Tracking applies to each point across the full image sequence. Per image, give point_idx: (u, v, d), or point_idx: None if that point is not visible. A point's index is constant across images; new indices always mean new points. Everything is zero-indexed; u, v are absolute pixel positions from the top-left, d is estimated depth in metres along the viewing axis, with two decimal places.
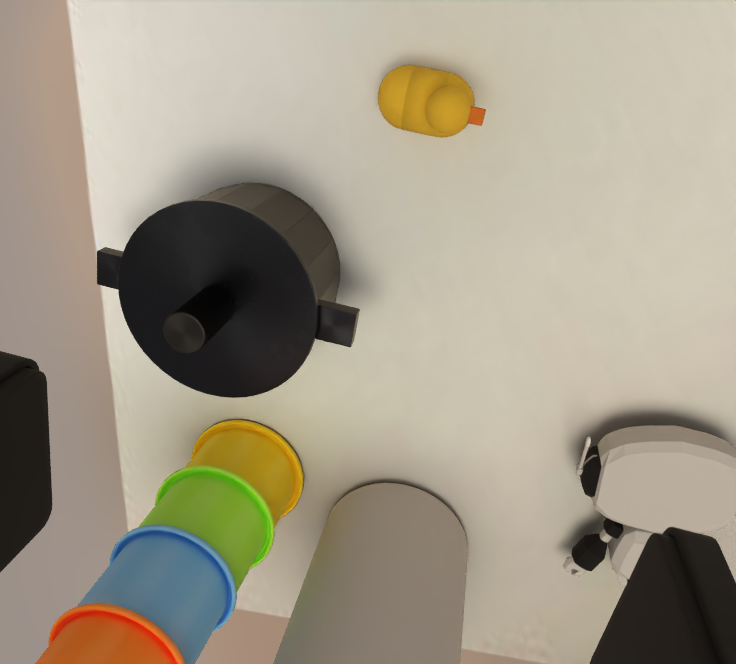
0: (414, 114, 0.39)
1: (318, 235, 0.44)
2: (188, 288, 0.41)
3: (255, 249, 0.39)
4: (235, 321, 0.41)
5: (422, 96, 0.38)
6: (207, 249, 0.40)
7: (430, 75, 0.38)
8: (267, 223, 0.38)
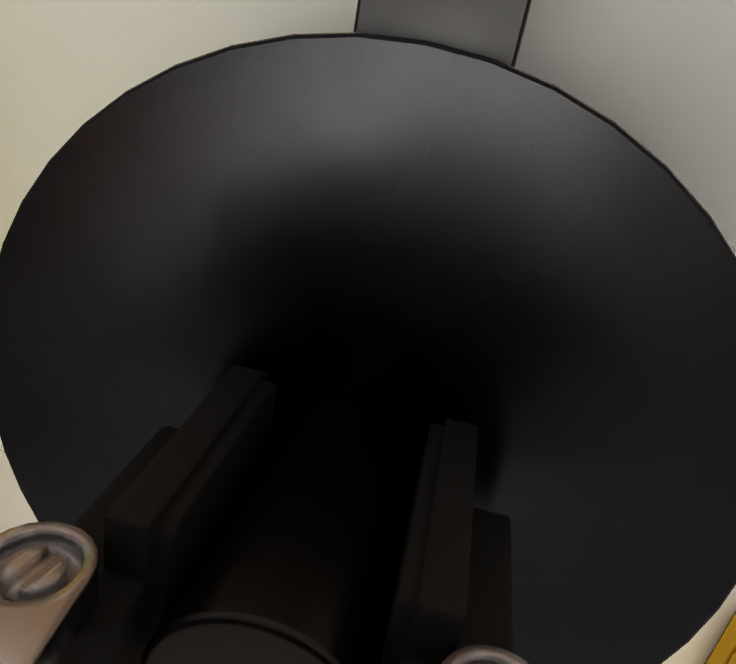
0: None
1: None
2: (405, 382, 0.10)
3: (556, 628, 0.11)
4: None
5: None
6: (567, 483, 0.10)
7: None
8: None
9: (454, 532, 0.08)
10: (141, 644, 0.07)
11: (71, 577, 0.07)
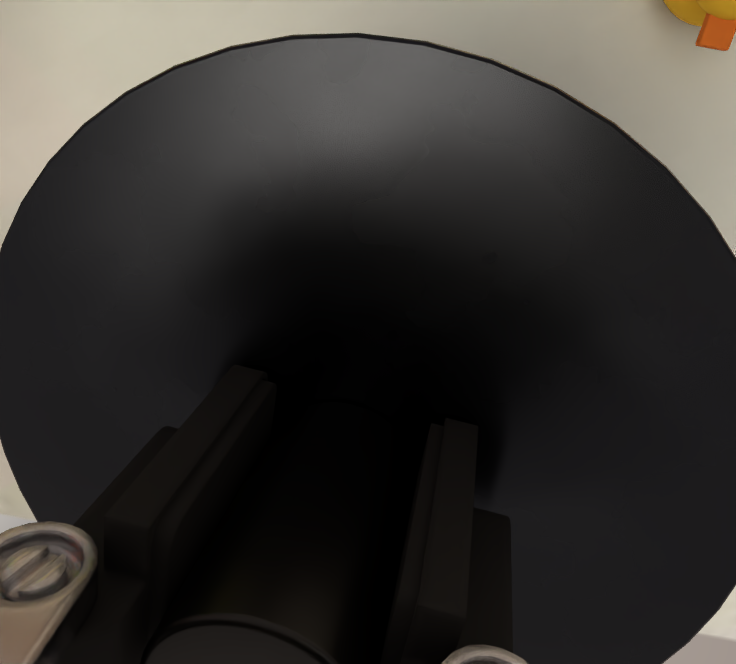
0: None
1: None
2: (404, 383, 0.10)
3: (556, 629, 0.11)
4: None
5: None
6: (567, 484, 0.10)
7: None
8: None
9: (454, 532, 0.08)
10: (141, 644, 0.07)
11: (71, 577, 0.07)
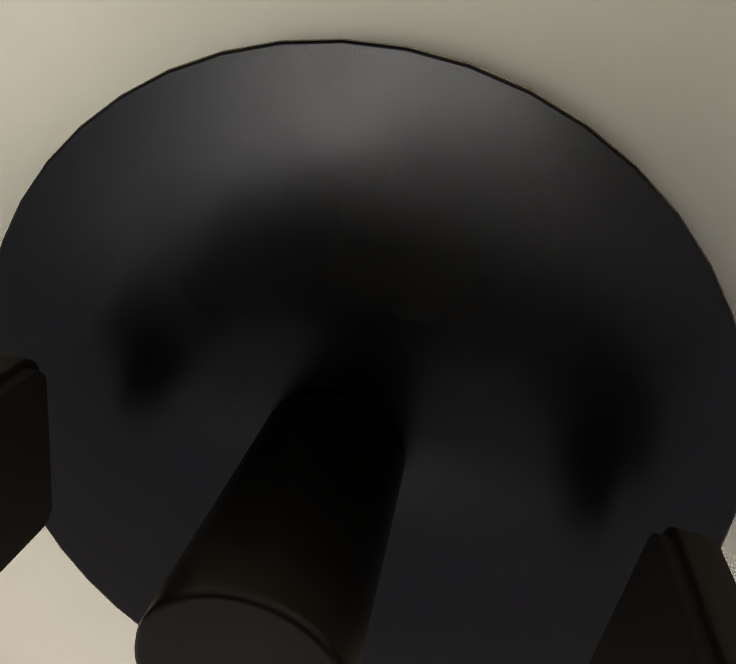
0: None
1: None
2: (390, 374, 0.10)
3: (538, 613, 0.12)
4: None
5: None
6: (547, 471, 0.11)
7: None
8: None
9: None
10: None
11: None
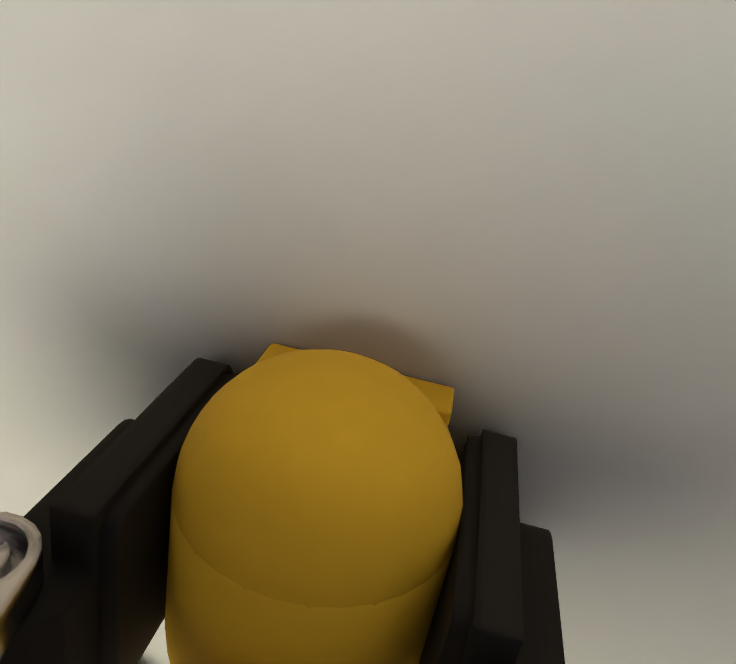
0: (215, 620, 0.07)
1: None
2: None
3: None
4: None
5: None
6: None
7: (407, 644, 0.08)
8: None
9: (503, 549, 0.07)
10: (91, 635, 0.07)
11: (14, 566, 0.07)
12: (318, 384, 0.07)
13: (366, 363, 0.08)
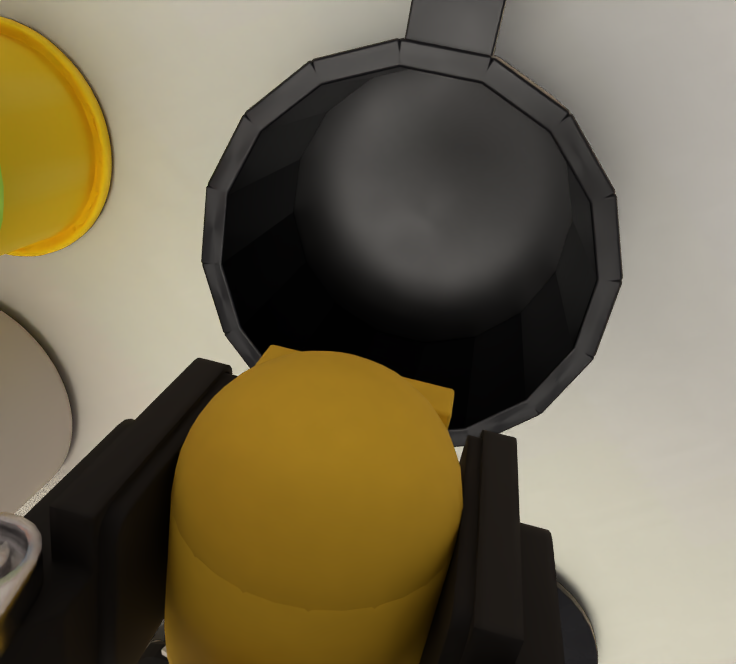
0: (214, 623, 0.07)
1: None
2: None
3: None
4: None
5: None
6: None
7: (407, 647, 0.08)
8: None
9: (503, 549, 0.07)
10: (91, 635, 0.07)
11: (14, 566, 0.07)
12: (318, 386, 0.07)
13: (366, 365, 0.08)
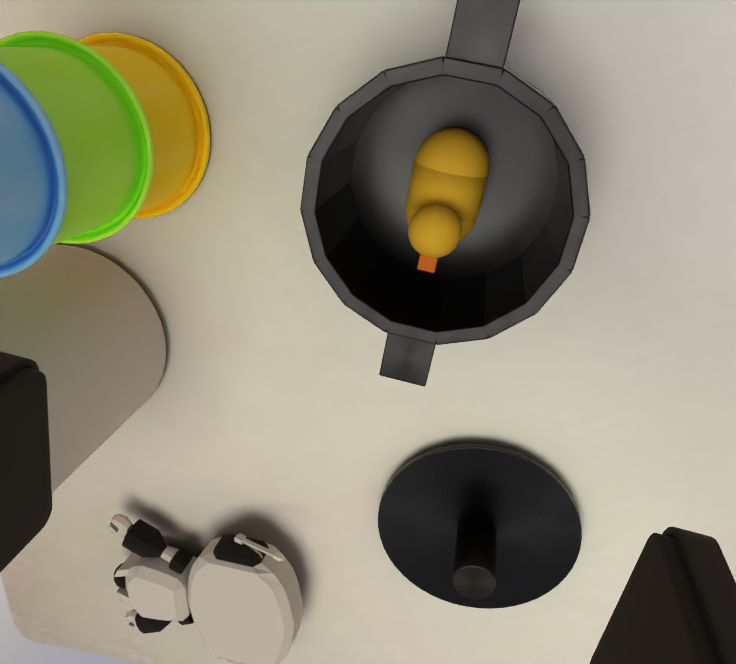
0: (431, 184, 0.31)
1: None
2: (494, 513, 0.42)
3: (531, 574, 0.43)
4: None
5: (451, 195, 0.31)
6: (533, 538, 0.42)
7: (475, 199, 0.32)
8: (554, 586, 0.44)
9: None
10: None
11: None
12: (455, 130, 0.31)
13: None
